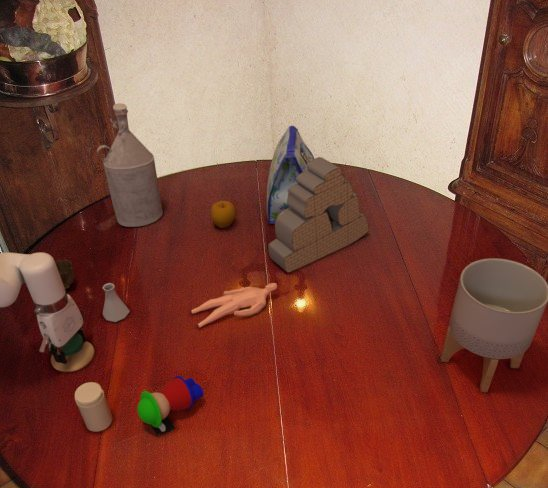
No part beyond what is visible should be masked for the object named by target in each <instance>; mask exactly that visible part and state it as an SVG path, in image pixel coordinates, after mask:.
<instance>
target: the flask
mask: <svg viewBox="0 0 548 488" xmlns="http://www.w3.org/2000/svg"><path fill="white" fill-rule="evenodd" d="M102 290H103V291H104V304H103V309H102V316H103V318H104V319H105V321H109V322H113V323H116V322H118V321H121V320H124V319H125V318H126V317H127V316H128V315H129V313H130V312H131V310H130V309H129V308H128V306H127V305H126V304H125V303H124V302H123V301H122V299H121V298H120V297H119V295H118V294H117V292H116V285H115V284H114V283H112V282H107V283H105V284H104V285H103V286H102Z"/></svg>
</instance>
